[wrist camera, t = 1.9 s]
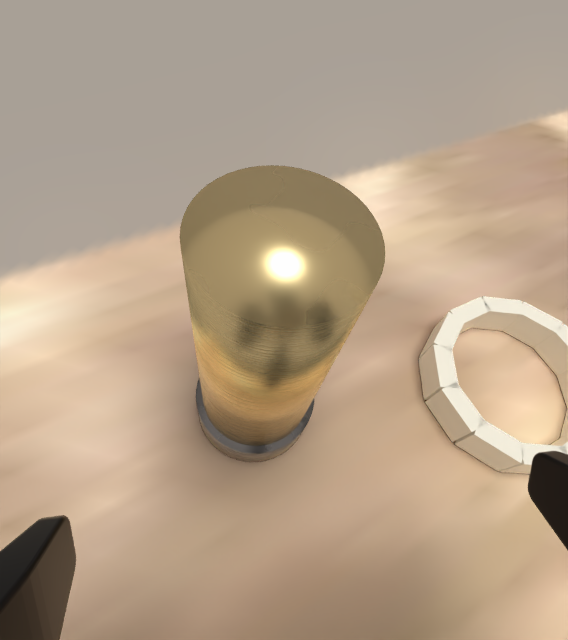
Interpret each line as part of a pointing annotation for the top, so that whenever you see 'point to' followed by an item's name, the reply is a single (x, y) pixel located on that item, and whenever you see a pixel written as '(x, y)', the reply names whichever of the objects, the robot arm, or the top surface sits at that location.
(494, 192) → the top surface
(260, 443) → the tan cylindrical piece
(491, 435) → the socket ring
